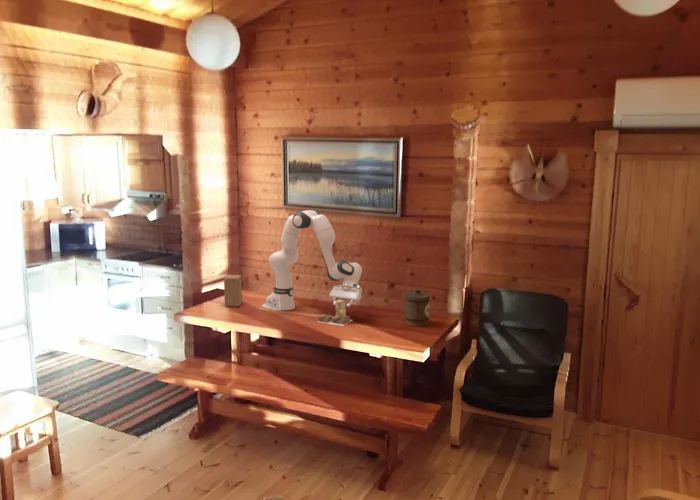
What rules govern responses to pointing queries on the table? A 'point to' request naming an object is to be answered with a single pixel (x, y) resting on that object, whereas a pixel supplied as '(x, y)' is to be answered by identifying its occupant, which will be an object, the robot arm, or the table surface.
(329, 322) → the blueprint board
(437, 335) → the table surface
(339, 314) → the birch pillar
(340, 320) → the walnut slab
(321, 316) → the walnut block
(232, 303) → the wooden block
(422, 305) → the wooden container
